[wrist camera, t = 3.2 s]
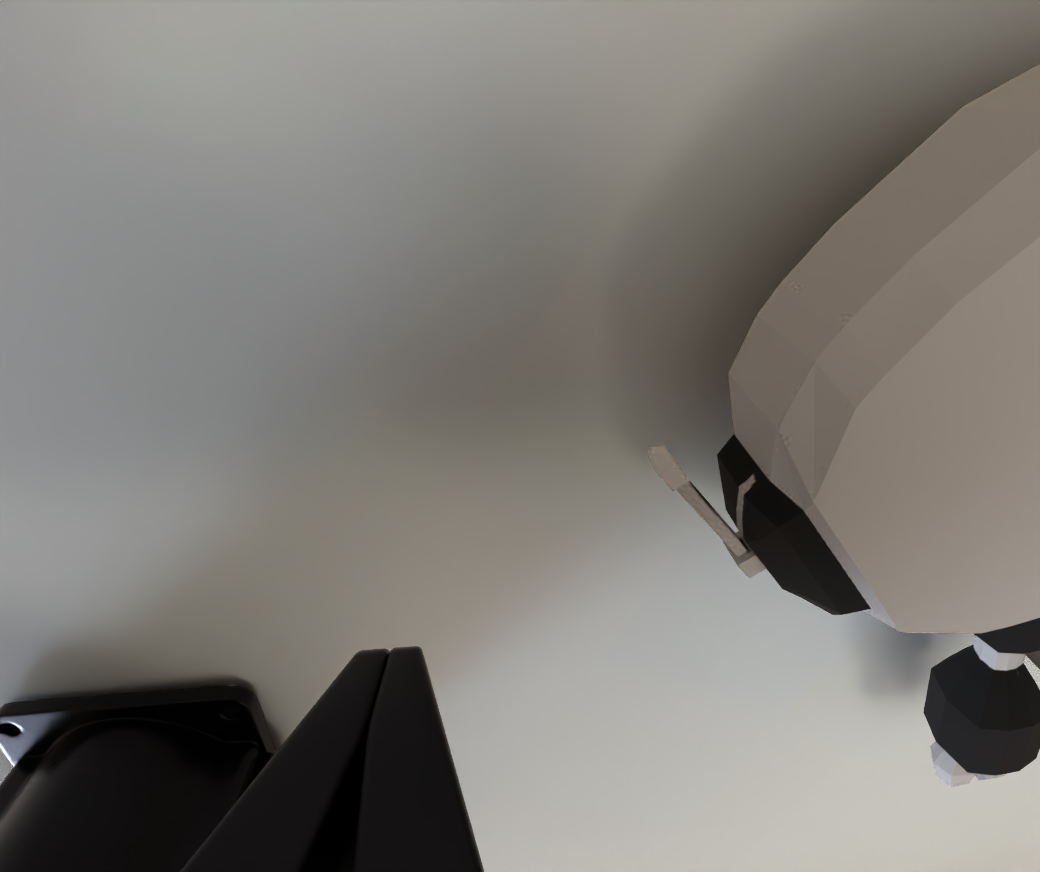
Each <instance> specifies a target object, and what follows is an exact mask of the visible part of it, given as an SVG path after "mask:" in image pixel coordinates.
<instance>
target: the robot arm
mask: <svg viewBox="0 0 1040 872" xmlns="http://www.w3.org/2000/svg"><path fill="white" fill-rule="evenodd" d="M0 747H1V749H2V750H3V752H4V753H5V755H6V756H7V758H8V759H9V761H10V762H11V764H12V765H13V767H14V768H13V769H12V770H11V772H10V773H9V774H8V776H7V777H6V778H5V780H4V781H3V782H2V784H1V785H0V872H484V869H483V866H482V862H481V859H480V855H479V851H478V848H477V844H476V841H475V837H474V834H473V830H472V826H471V823H470V819H469V816H468V812H467V809H466V805H465V801H464V798H463V794H462V791H461V787H460V784H459V780H458V776H457V773H456V769H455V766H454V762H453V759H452V755H451V751H450V748H449V744H448V741H447V737H446V734H445V730H444V726H443V723H442V719H441V716H440V712H439V709H438V705H437V701H436V698H435V694H434V691H433V687H432V684H431V680H430V676H429V673H428V669H427V666H426V662H425V659H424V655H423V652H422V649H421V648H420V647H418V646H412V647H399V648H393V649H392V650H391V651H389V650H387V649H373V650H362V651H359V652H358V653H356V654H355V655H354V657H353V658H352V659H351V660H350V662H349V663H348V664H347V665H346V667H345V668H344V669H343V670H342V671H341V673H340V674H339V675H338V676H337V678H336V679H335V680H334V681H333V683H332V684H331V685H330V686H329V688H328V689H327V690H326V691H325V693H324V694H323V695H322V696H321V698H320V699H319V700H318V701H317V703H316V704H315V705H314V706H313V707H312V709H311V710H310V711H309V712H308V714H307V715H306V716H305V717H304V719H303V720H302V721H301V722H300V724H299V725H298V726H297V727H296V729H295V730H294V731H293V732H292V734H291V735H290V736H289V737H288V739H287V740H286V741H285V742H284V743H283V745H282V746H281V747H280V748H279V750H278V751H277V752H276V749H275V746H274V744H273V741H272V738H271V736H270V733H269V730H268V728H267V725H266V722H265V720H264V717H263V714H262V712H261V709H260V706H259V703H258V701H257V698H256V697H255V695H254V694H253V693H252V692H251V691H250V690H248V689H246V688H243V687H240V686H221V687H208V688H195V689H182V690H169V691H156V692H143V693H130V694H117V695H104V696H91V697H78V698H65V699H52V700H39V701H25V702H12V703H8V704H5V705H3V706H2V707H1V708H0Z"/></svg>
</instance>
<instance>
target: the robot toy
mask: <svg viewBox="0 0 1040 872" xmlns="http://www.w3.org/2000/svg"><path fill="white" fill-rule="evenodd" d="M728 379H729V389H730V399H731V408H732V418H733V428H734V435H733V436H732V437H731V438H730V439H729V441H728V442H727V443H726V444H725V446H724V447H723V448H722V449H721V451H720V452H719V453H718V454H717V457H718V463H719V470H720V476H721V482H722V488H723V494H724V500H725V506H726V510H727V512H728V514H729V515H730V517H731V519H732V520H733V522H734V523H735V525H736V527H737V528H738V530H739V532H737V533H736V534H735V532H734V531H733V530H732V529H731V528H730V527H729V525H728V524H727V523H726V522H725V521H724V520H723V519H722V517H721V516H720V515H719V514H718V513H717V512H716V511H715V509H714V508H713V507H712V506H711V505H710V504H709V502H708V501H707V500H706V499H705V498H704V497H703V496H702V494H701V493H700V492H699V491H698V490H697V489H696V487H695V486H694V485H693V484H692V483H691V482H690V481H689V479H688V478H687V477H686V475H685V473H684V472H683V470H682V469H681V467H680V465H679V464H678V462H677V461H676V460H675V459H674V457H673V456H672V455H671V454H670V453H669V452H668V450H667V449H666V448H665V447H664V446H656V447H649V452H648V457H649V459H650V461H651V463H652V464H653V466H654V468H655V470H656V471H657V473H658V475H659V476H660V477H661V478H662V479H663V481H664V482H665V483H666V484H667V485H668V486H669V487H670V488H671V489H672V490H673V491H674V490H677V491H678V492H679V493H680V494H681V495H682V496H683V497H684V498H685V499H686V501H687V502H688V503H689V504H690V505H691V506H692V507H693V508H694V509H695V510H696V511H697V513H698V514H699V515H700V516H701V517H702V518H703V519H704V520H705V521H706V522H707V523H708V524H709V526H710V527H711V528H712V529H713V530H714V531H715V532H716V533H717V534H718V535H719V536H720V538H721V539H722V540H723V542H724V544H725V546H726V547H727V549H728V551H729V552H730V554H731V556H732V557H733V559H734V560H735V562H736V564H737V565H738V567H739V568H740V569H741V570H742V571H743V572H744V573H745V574H746V575H747V576H748V577H749V578H750V577H752V576H754V575H756V574H757V573H759V572H761V571H763V570H764V569H767V570H768V571H769V572H770V574H771V575H772V576H773V577H774V579H775V580H776V581H777V583H778V584H779V585H780V586H781V588H782V589H784V590H786V591H788V592H790V593H793V594H795V595H797V596H799V597H801V598H803V599H805V600H807V601H809V602H810V603H812V604H814V605H816V606H818V607H820V608H821V609H823V610H825V611H827V612H829V613H831V614H832V615H842V614H847V613H852V612H857V611H864V612H866V613H868V614H869V615H871V616H873V617H875V618H876V619H878V620H880V621H882V622H883V623H885V624H887V625H889V626H890V627H892V628H894V629H896V630H898V631H899V632H906V633H973V634H974V635H976V637H975V642H974V645H972V646H969V647H967V648H965V649H963V650H961V651H959V652H957V653H955V654H954V655H952V656H950V657H948V658H947V659H945V660H943V661H942V662H940V663H939V664H937V665H936V666H934V667H933V668H931V673H930V679H929V685H928V690H927V696H926V702H925V707H924V714H925V717H926V719H927V721H928V724H929V726H930V728H931V731H932V733H933V735H934V737H935V740H936V742H935V743H934V744H932V745H931V752H932V758H933V763H934V768H935V772H936V776H938V777H939V778H940V779H942V780H943V781H944V782H946V783H947V784H948V785H949V786H951V787H953V786H958V785H962V784H967V783H969V782H970V781H971V780H972V779H973V777H974V776H975V775H976V777H977V778H978V780H985V779H991V778H995V777H1000V776H1004V775H1005V774H1007V773H1011V772H1016V771H1020V770H1021V769H1022V768H1024V767H1025V766H1026V765H1028V764H1029V763H1030V762H1032V761H1033V760H1034V759H1036V757H1037V754H1038V752H1039V749H1040V690H1039V688H1038V686H1037V684H1036V683H1035V681H1034V679H1033V678H1032V676H1031V675H1030V673H1029V671H1028V670H1027V668H1026V666H1025V665H1024V663H1023V662H1024V658H1025V655H1026V656H1027V657H1028V658H1029V659H1030V660H1031V661H1032V662H1033V663H1034V664H1035V665H1036V666H1037V667H1038V668H1039V669H1040V64H1038V65H1037V66H1035V67H1033V68H1031V69H1029V70H1028V71H1026V72H1024V73H1022V74H1020V75H1019V76H1017V77H1015V78H1013V79H1011V80H1010V81H1008V82H1006V83H1004V84H1002V85H1001V86H999V87H997V88H995V89H993V90H992V91H990V92H988V93H986V94H984V95H982V96H981V97H979V98H977V99H975V100H973V101H972V102H970V103H968V104H966V105H964V106H963V107H961V108H960V109H959V110H958V111H957V112H956V113H955V114H954V115H953V116H952V117H950V118H949V119H948V120H947V121H946V122H945V123H944V124H943V125H942V126H941V127H940V128H938V129H937V130H936V131H935V132H934V133H933V134H932V135H931V136H930V137H929V138H927V139H926V140H925V141H924V142H923V143H922V144H921V145H920V146H919V147H918V148H917V149H915V150H914V151H913V152H912V153H911V154H910V155H909V156H908V157H907V158H906V159H904V160H903V161H902V162H901V163H900V164H899V165H898V166H897V167H896V168H895V169H894V170H892V171H891V172H890V173H889V174H888V175H887V176H886V177H885V178H884V179H883V180H881V181H880V182H879V183H878V184H877V185H876V186H875V187H874V188H873V189H872V190H870V191H869V192H868V193H867V194H866V195H865V196H864V197H863V198H862V199H861V200H860V201H858V202H857V203H856V204H855V205H854V206H853V207H852V208H851V209H850V210H849V211H847V212H846V213H845V214H844V215H843V216H842V217H841V218H840V219H839V220H838V221H837V222H835V223H834V224H833V225H832V227H831V228H830V229H829V230H828V231H827V232H826V233H825V234H824V235H823V236H822V238H821V239H820V240H819V241H818V242H817V243H816V244H815V245H814V246H813V247H812V249H811V250H810V251H809V252H808V253H807V254H806V255H805V256H804V257H803V258H802V260H801V261H800V262H799V263H798V264H797V265H796V266H795V267H794V268H793V270H792V271H791V272H790V273H789V274H788V275H787V276H786V277H785V278H784V279H783V281H782V282H781V283H780V284H779V285H778V287H777V288H776V290H775V291H774V292H773V294H772V295H771V296H770V298H769V299H768V300H767V302H766V303H765V304H764V306H763V307H762V308H761V310H760V311H759V312H758V314H757V315H756V317H755V319H754V321H753V323H752V325H751V327H750V330H749V332H748V334H747V336H746V338H745V340H744V342H743V344H742V346H741V348H740V350H739V352H738V354H737V356H736V358H735V360H734V362H733V364H732V366H731V368H730V370H729V372H728Z"/></svg>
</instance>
